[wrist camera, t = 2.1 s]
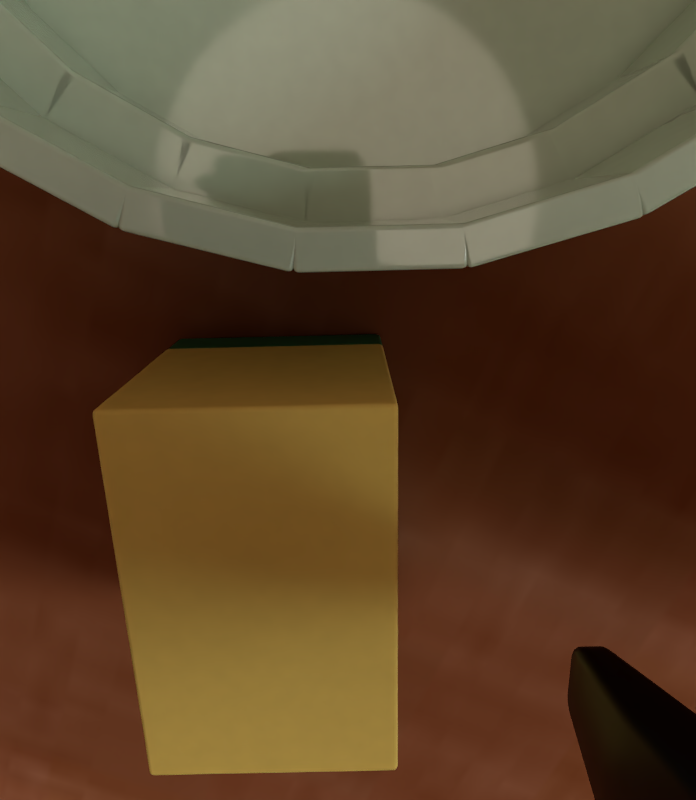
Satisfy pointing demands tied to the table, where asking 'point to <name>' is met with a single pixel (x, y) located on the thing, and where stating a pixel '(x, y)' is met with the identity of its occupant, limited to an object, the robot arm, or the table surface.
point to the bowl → (352, 122)
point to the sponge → (259, 552)
